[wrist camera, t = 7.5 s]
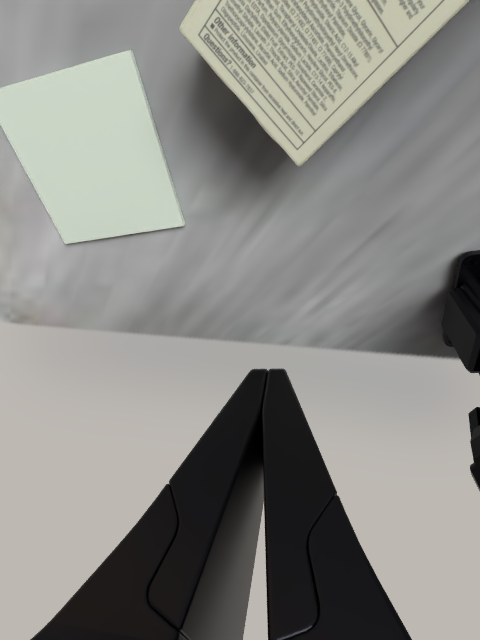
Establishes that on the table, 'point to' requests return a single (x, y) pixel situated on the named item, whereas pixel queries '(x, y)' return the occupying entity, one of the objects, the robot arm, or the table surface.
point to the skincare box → (310, 57)
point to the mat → (92, 149)
